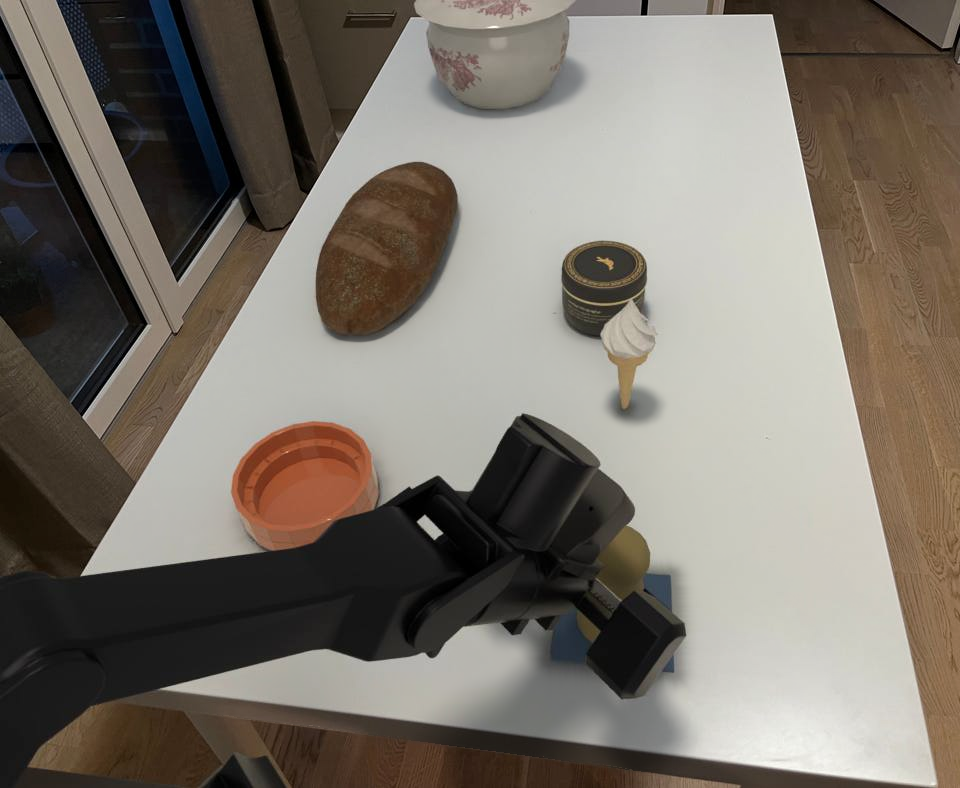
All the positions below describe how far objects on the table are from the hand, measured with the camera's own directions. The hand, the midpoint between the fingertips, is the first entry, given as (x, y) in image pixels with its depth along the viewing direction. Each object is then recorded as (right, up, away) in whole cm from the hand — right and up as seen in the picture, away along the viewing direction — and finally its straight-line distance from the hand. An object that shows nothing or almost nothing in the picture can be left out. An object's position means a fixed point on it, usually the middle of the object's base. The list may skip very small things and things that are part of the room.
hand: (613, 572), depth 63 cm
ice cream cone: (+5, +13, +23) cm, 27 cm away
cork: (+1, -5, +5) cm, 7 cm away
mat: (+1, -5, +5) cm, 7 cm away
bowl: (-28, +3, +17) cm, 33 cm away
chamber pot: (-7, +69, +81) cm, 106 cm away
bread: (-23, +33, +47) cm, 62 cm away
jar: (+4, +24, +34) cm, 42 cm away
